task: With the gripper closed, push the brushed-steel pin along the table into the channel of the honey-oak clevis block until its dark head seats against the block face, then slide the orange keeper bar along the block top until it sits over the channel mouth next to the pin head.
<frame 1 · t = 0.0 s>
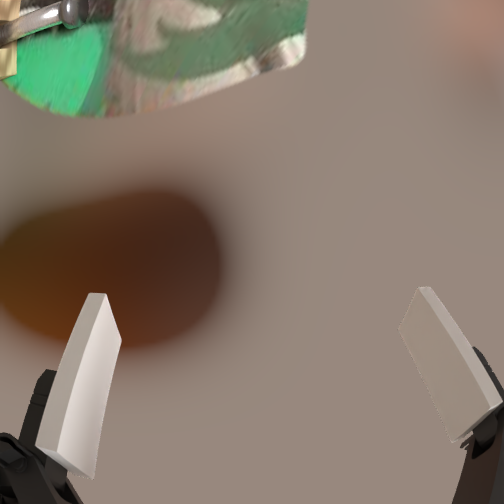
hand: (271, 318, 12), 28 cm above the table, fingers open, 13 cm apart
pin: (33, 21, 20), point 3 cm above the table, slide at 0.0 cm
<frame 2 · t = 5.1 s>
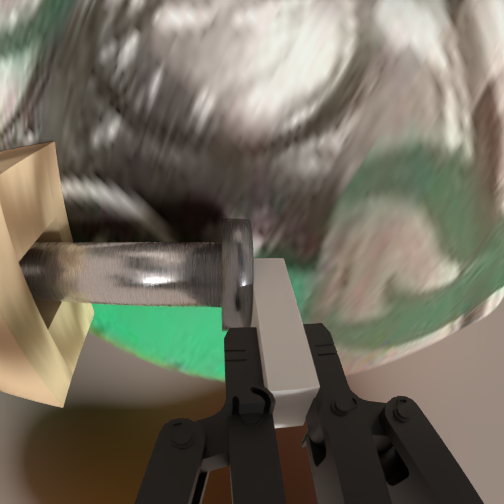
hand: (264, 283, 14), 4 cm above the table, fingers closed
pin: (111, 273, 14), point 3 cm above the table, slide at 1.5 cm, touching gripper
clevis block: (8, 240, 15), on the table
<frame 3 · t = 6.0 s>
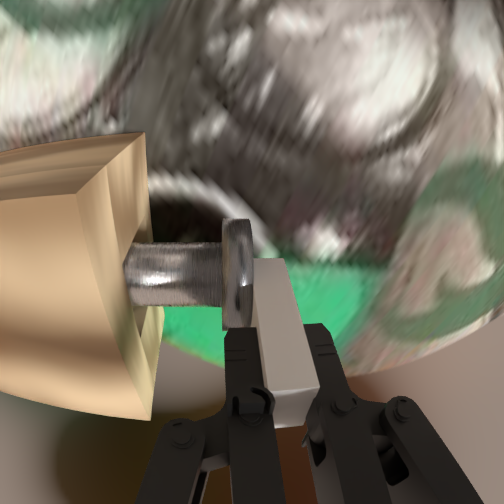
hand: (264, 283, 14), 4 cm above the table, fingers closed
pin: (111, 273, 14), point 3 cm above the table, slide at 6.7 cm, touching gripper
clevis block: (68, 239, 16), on the table
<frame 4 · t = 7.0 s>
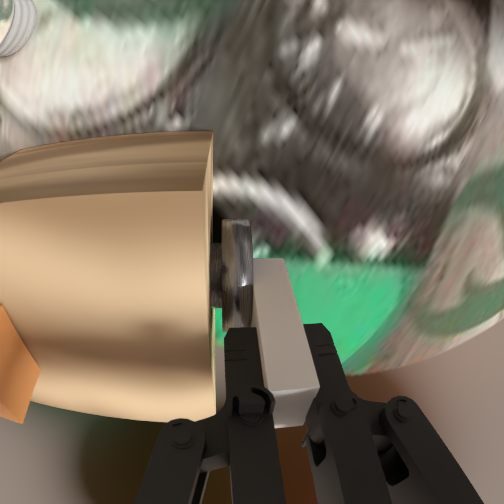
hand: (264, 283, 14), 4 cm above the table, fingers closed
pin: (111, 274, 14), point 3 cm above the table, slide at 10.0 cm, touching gripper
light bulb: (27, 27, 9), on the table
clevis block: (118, 240, 16), on the table
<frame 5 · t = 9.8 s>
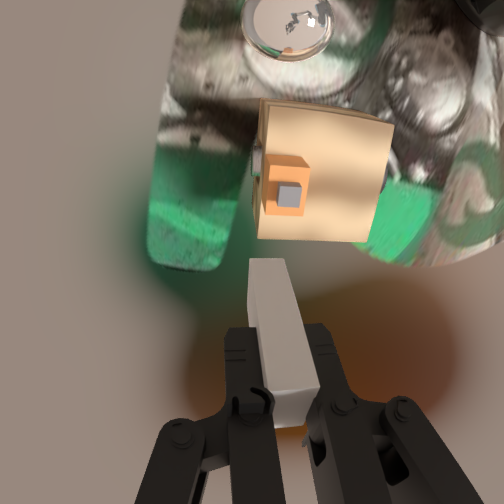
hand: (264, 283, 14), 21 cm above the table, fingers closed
pin: (318, 165, 29), point 3 cm above the table, slide at 10.1 cm
light bulb: (272, 34, 25), on the table
clevis block: (306, 156, 32), on the table
keeper bar: (285, 186, 23), point 10 cm above the table, slide at 0.0 cm
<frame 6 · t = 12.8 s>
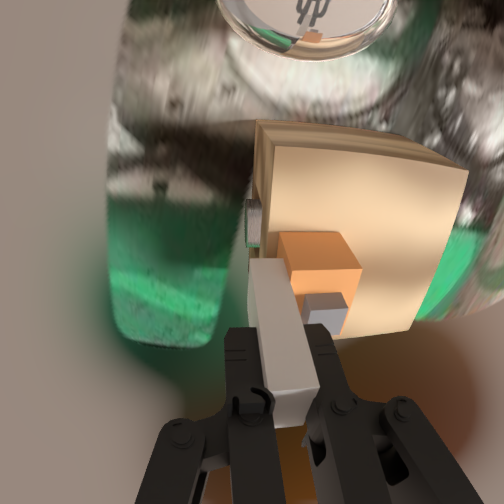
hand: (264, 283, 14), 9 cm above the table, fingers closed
pin: (345, 224, 20), point 3 cm above the table, slide at 10.1 cm
light bulb: (271, 18, 15), on the table
clevis block: (325, 204, 22), on the table
keeper bar: (314, 292, 14), point 10 cm above the table, slide at 0.5 cm, touching gripper
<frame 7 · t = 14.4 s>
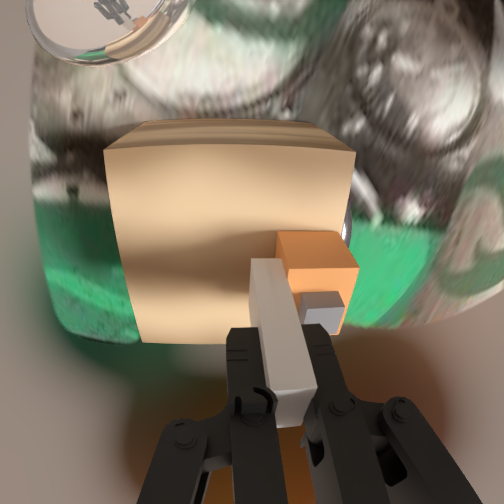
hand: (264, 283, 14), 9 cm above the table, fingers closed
pin: (235, 222, 19), point 3 cm above the table, slide at 10.1 cm
light bulb: (157, 20, 14), on the table
clevis block: (227, 201, 22), on the table
keeper bar: (312, 291, 14), point 10 cm above the table, slide at 7.8 cm, touching gripper
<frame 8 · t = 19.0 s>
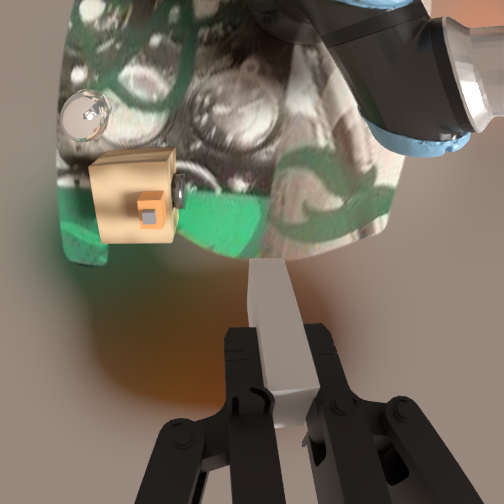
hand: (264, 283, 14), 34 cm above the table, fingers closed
pin: (141, 192, 43), point 3 cm above the table, slide at 10.1 cm
light bulb: (108, 106, 38), on the table
clevis block: (143, 185, 46), on the table
keeper bar: (151, 211, 38), point 10 cm above the table, slide at 7.5 cm
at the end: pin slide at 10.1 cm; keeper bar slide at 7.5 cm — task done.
